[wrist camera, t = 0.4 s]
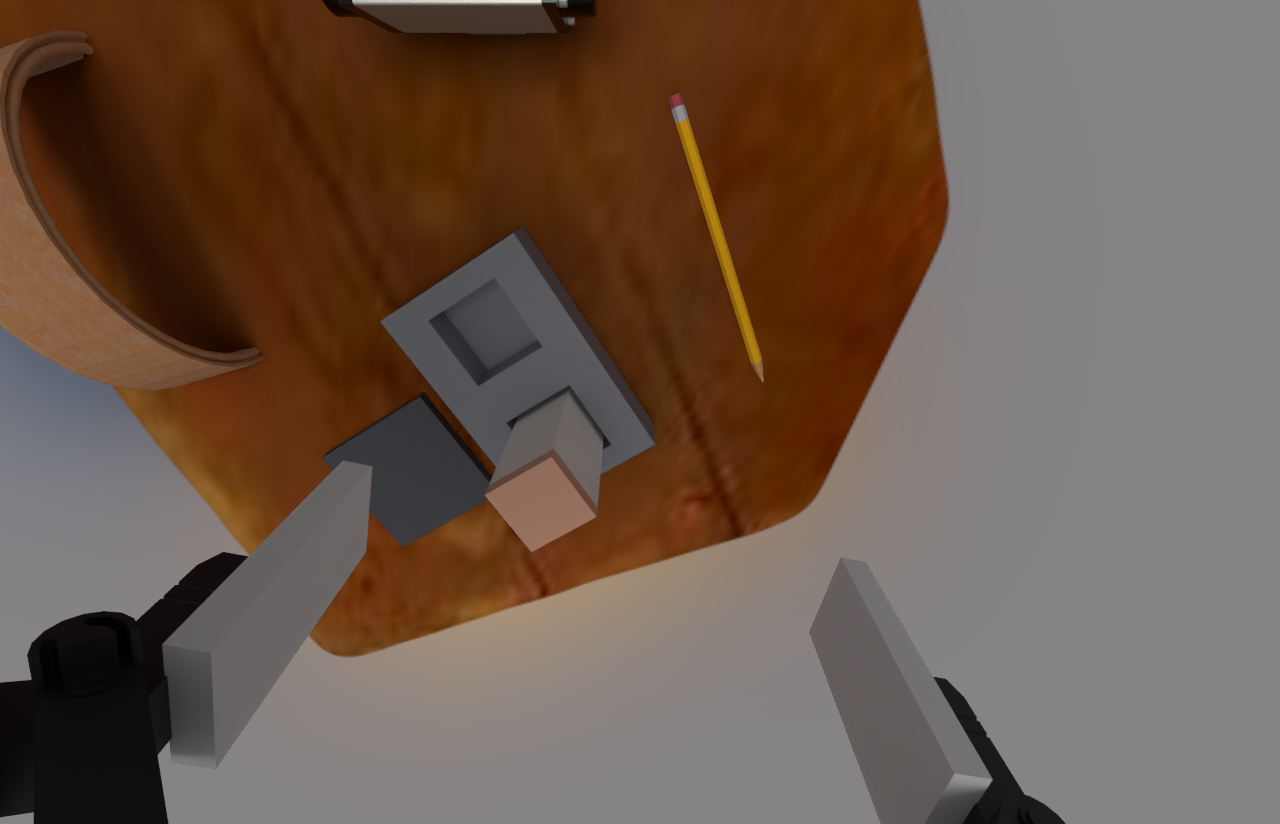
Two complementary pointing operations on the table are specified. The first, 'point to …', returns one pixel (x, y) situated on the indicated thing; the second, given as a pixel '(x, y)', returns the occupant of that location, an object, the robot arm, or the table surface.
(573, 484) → the plug
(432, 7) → the pneumatic valve
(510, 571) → the table surface
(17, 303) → the arch
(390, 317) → the grey boxy piece
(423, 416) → the mat
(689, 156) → the pencil
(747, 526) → the table surface
